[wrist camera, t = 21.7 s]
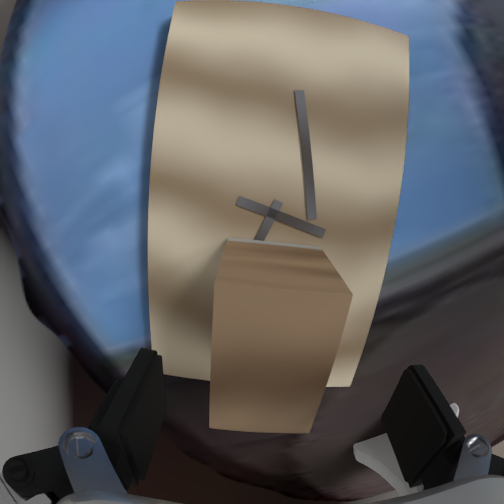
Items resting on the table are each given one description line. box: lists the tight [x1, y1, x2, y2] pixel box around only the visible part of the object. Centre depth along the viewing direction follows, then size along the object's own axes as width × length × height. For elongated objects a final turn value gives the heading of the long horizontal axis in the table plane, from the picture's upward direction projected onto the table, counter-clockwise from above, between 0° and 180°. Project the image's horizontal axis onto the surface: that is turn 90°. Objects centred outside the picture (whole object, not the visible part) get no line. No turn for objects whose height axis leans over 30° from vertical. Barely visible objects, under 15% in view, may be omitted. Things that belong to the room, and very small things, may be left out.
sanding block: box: [209, 237, 353, 433], centre depth 15 cm, size 8×5×6 cm, turn 174°
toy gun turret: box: [353, 403, 459, 496], centre depth 15 cm, size 12×13×18 cm
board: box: [148, 0, 409, 387], centre depth 16 cm, size 24×14×2 cm, turn 174°
